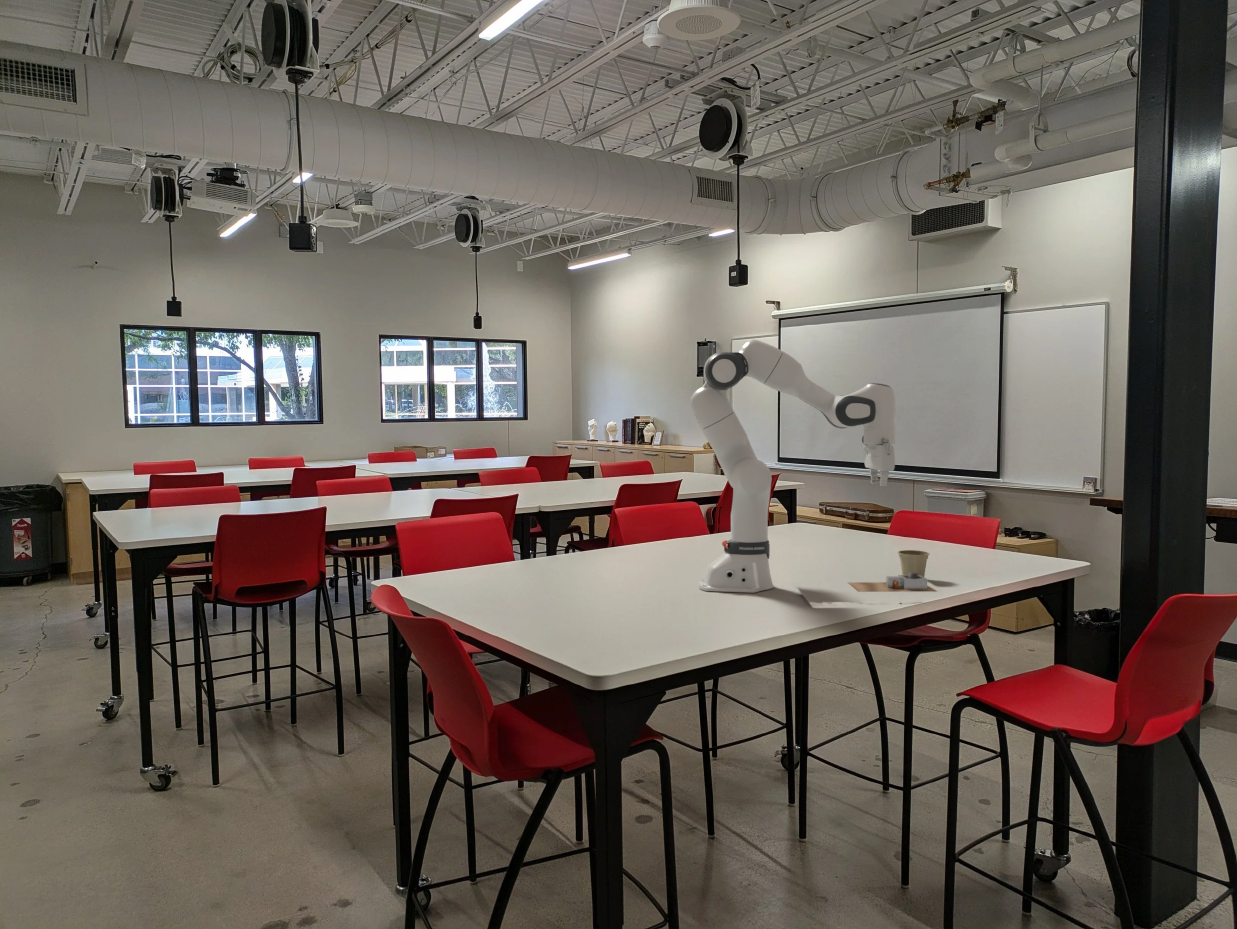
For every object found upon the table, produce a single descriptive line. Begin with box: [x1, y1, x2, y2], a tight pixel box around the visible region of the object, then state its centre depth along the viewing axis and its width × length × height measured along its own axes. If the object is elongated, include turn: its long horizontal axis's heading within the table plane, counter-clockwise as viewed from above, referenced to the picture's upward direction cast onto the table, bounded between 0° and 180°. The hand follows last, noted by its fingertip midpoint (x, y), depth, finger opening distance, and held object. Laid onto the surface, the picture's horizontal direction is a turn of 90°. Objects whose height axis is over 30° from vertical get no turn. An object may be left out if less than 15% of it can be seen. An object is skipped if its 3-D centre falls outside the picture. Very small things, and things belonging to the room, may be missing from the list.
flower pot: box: [897, 549, 930, 577], centre depth 253 cm, size 9×9×9 cm
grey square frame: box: [885, 574, 928, 590], centre depth 235 cm, size 10×6×3 cm, turn 86°
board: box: [847, 572, 937, 593], centre depth 236 cm, size 22×13×6 cm, turn 87°
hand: (878, 485), depth 241 cm, fingers open, 8 cm apart
